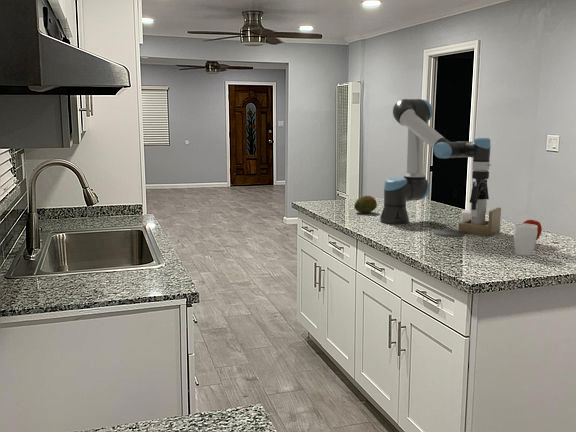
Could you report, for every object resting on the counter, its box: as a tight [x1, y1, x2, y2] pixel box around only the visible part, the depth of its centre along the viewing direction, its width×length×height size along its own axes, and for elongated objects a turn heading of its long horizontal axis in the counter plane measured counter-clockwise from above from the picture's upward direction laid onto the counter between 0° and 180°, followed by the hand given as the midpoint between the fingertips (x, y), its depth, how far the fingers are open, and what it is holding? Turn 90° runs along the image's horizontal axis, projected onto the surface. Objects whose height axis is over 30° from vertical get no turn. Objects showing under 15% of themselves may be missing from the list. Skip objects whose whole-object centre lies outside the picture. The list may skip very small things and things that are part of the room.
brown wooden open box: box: [458, 207, 502, 238], centre depth 279 cm, size 16×14×12 cm
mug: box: [460, 210, 472, 222], centre depth 299 cm, size 12×10×8 cm
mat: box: [433, 229, 466, 238], centre depth 278 cm, size 14×14×1 cm
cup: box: [513, 223, 537, 257], centre depth 235 cm, size 9×9×12 cm
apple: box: [522, 219, 543, 241], centre depth 255 cm, size 9×8×11 cm
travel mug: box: [471, 191, 487, 225], centre depth 279 cm, size 6×7×20 cm
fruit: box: [353, 195, 378, 214], centre depth 339 cm, size 12×13×10 cm
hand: (478, 214), depth 279 cm, fingers open, 13 cm apart
